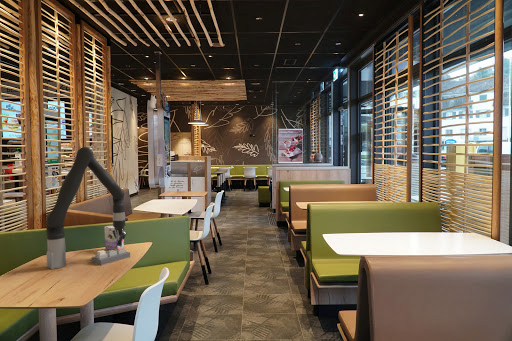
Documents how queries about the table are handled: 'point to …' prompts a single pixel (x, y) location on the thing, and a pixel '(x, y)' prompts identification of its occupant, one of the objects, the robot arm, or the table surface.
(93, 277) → the table surface
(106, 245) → the candy box
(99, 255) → the cream button
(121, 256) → the button board
